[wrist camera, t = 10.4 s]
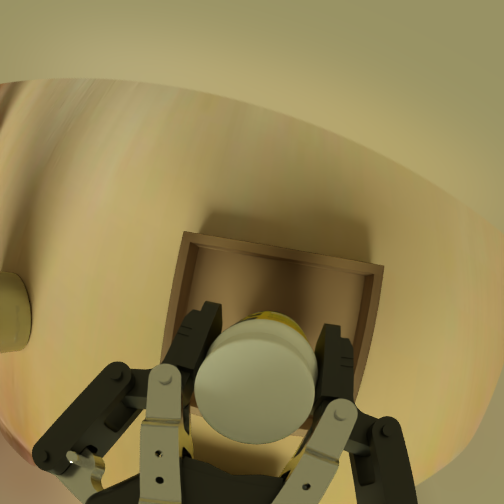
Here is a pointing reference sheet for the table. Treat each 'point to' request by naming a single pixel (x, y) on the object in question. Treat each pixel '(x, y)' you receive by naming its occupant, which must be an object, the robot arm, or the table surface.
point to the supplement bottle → (258, 379)
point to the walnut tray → (276, 292)
